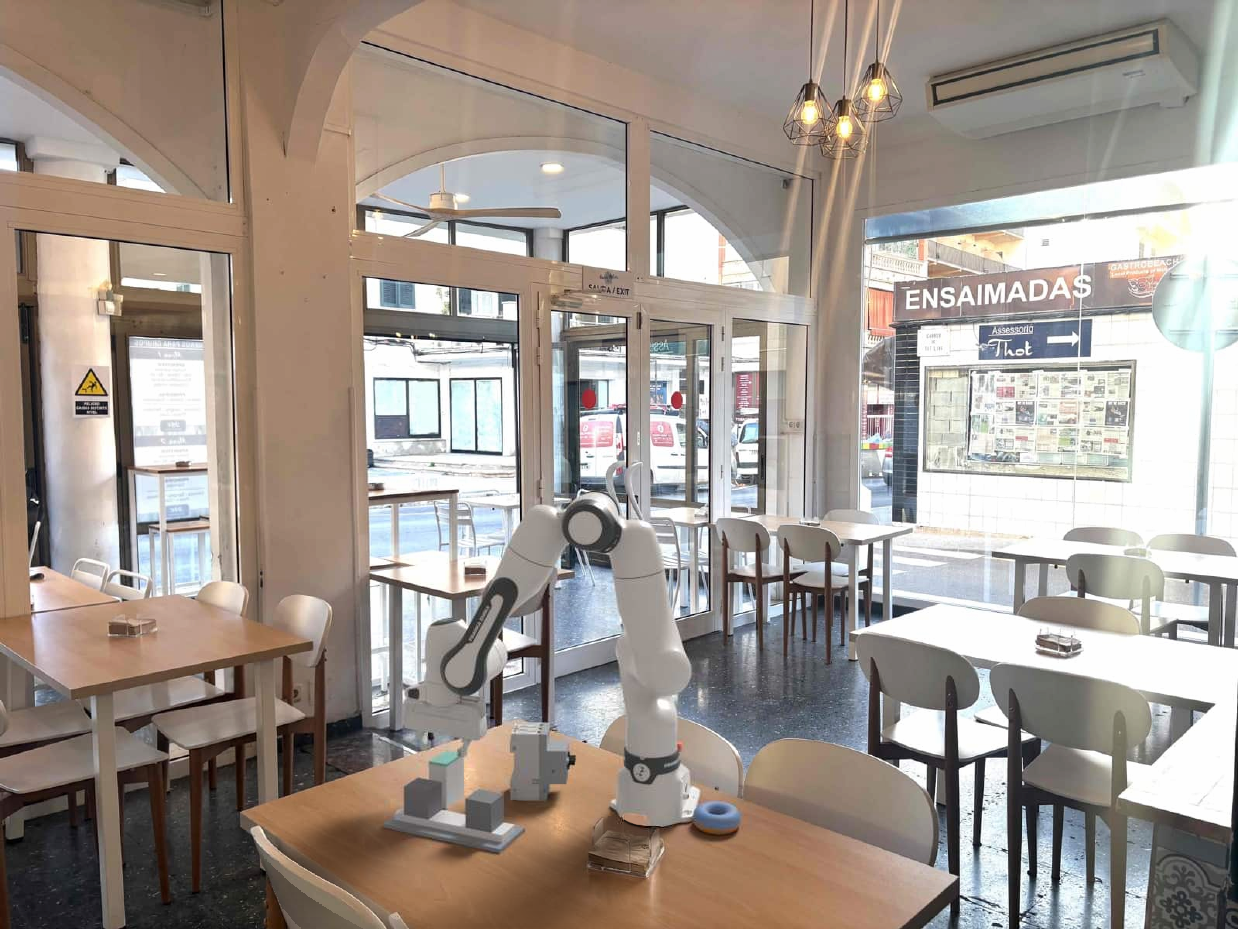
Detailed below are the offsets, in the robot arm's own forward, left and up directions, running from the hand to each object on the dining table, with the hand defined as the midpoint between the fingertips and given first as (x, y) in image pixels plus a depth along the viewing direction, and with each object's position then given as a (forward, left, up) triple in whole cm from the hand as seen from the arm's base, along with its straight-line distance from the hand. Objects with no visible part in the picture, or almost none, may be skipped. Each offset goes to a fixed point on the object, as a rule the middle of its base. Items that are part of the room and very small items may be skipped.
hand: (443, 753), depth 197 cm
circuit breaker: (-12, +18, -11) cm, 25 cm away
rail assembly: (+11, +9, -11) cm, 18 cm away
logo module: (0, 0, -11) cm, 11 cm away
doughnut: (-12, +59, -11) cm, 61 cm away
